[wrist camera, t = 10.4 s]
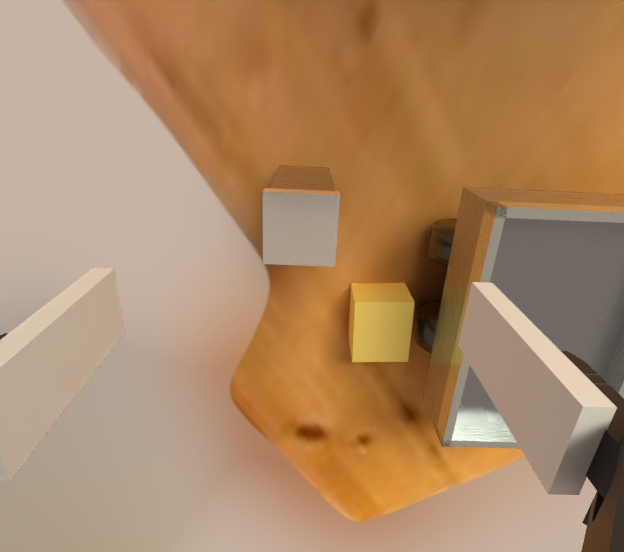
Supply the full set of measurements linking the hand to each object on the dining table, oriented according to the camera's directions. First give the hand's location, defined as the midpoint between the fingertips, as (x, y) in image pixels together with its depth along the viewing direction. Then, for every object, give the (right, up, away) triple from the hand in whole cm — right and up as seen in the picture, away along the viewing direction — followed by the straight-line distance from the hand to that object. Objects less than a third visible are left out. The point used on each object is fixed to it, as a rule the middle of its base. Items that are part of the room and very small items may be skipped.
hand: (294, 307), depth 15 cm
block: (+7, -2, +23) cm, 25 cm away
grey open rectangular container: (+17, +1, +22) cm, 27 cm away
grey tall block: (0, +8, +19) cm, 20 cm away
